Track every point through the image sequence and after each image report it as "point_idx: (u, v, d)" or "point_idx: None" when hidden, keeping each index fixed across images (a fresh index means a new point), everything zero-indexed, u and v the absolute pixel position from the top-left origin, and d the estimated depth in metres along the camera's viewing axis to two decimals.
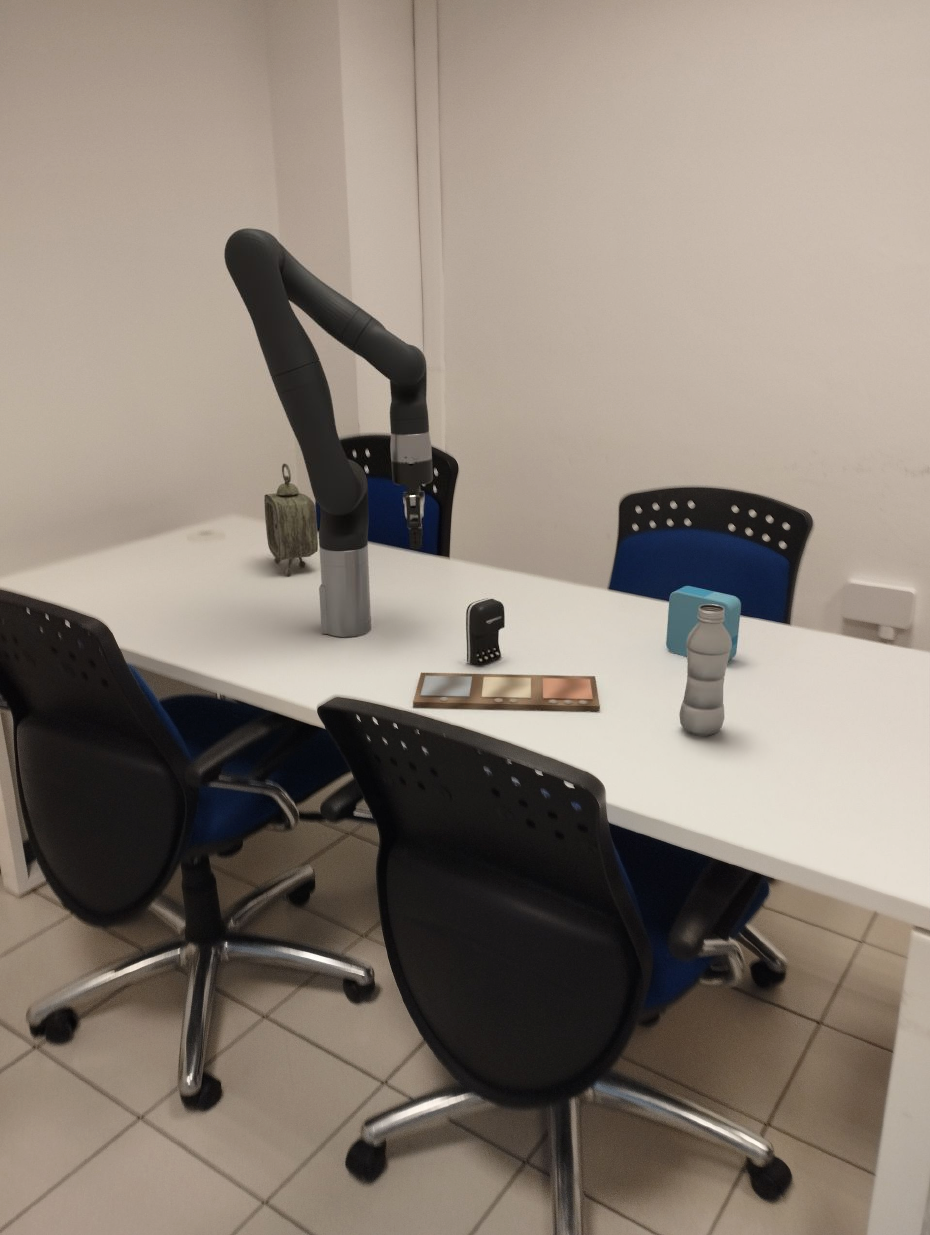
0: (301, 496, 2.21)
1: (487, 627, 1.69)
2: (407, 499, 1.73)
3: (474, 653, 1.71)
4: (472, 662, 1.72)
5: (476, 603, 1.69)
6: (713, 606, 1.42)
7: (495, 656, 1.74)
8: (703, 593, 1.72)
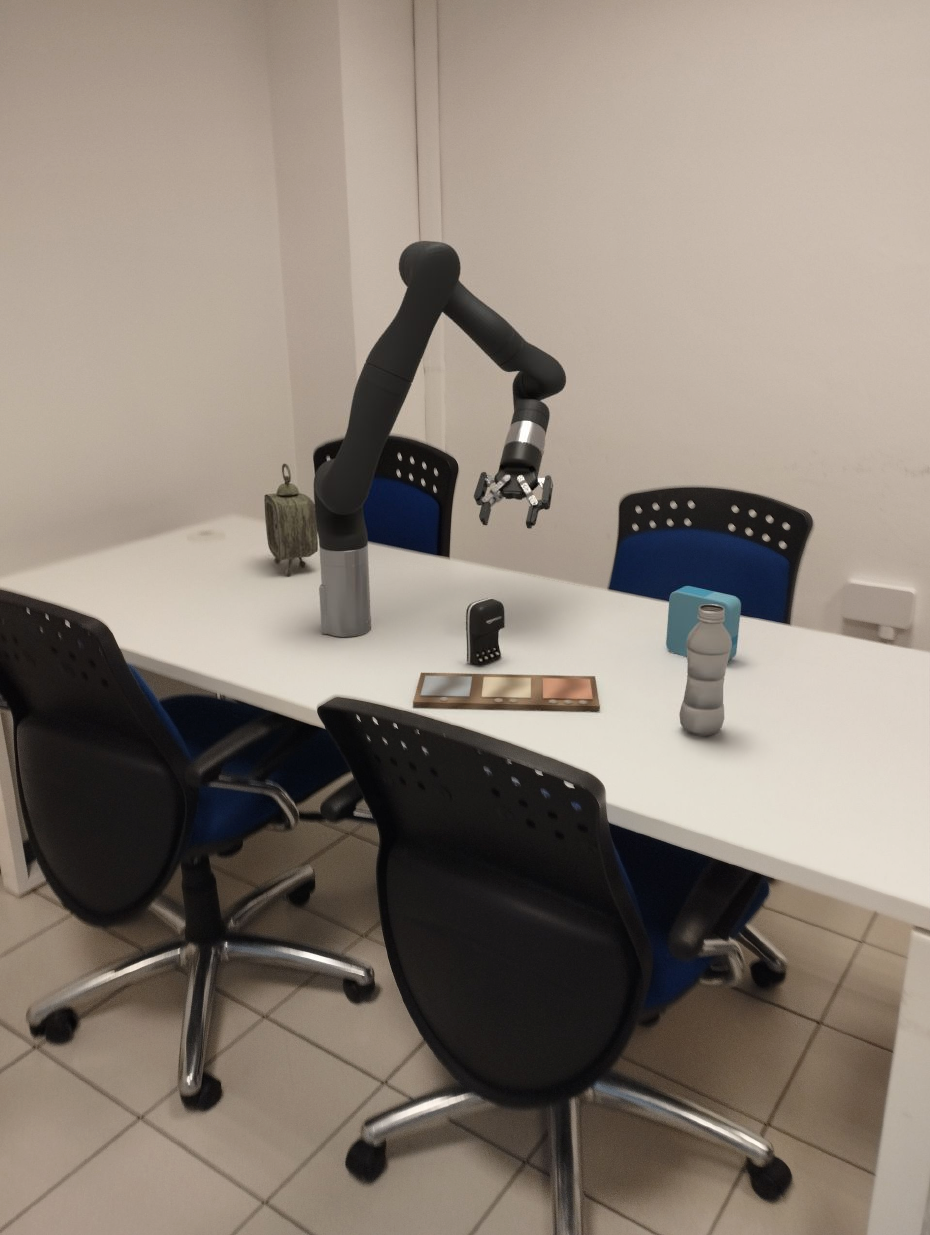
0: (301, 496, 2.21)
1: (487, 627, 1.69)
2: (551, 479, 1.77)
3: (474, 653, 1.71)
4: (472, 662, 1.72)
5: (476, 603, 1.69)
6: (713, 606, 1.42)
7: (495, 656, 1.74)
8: (703, 593, 1.72)
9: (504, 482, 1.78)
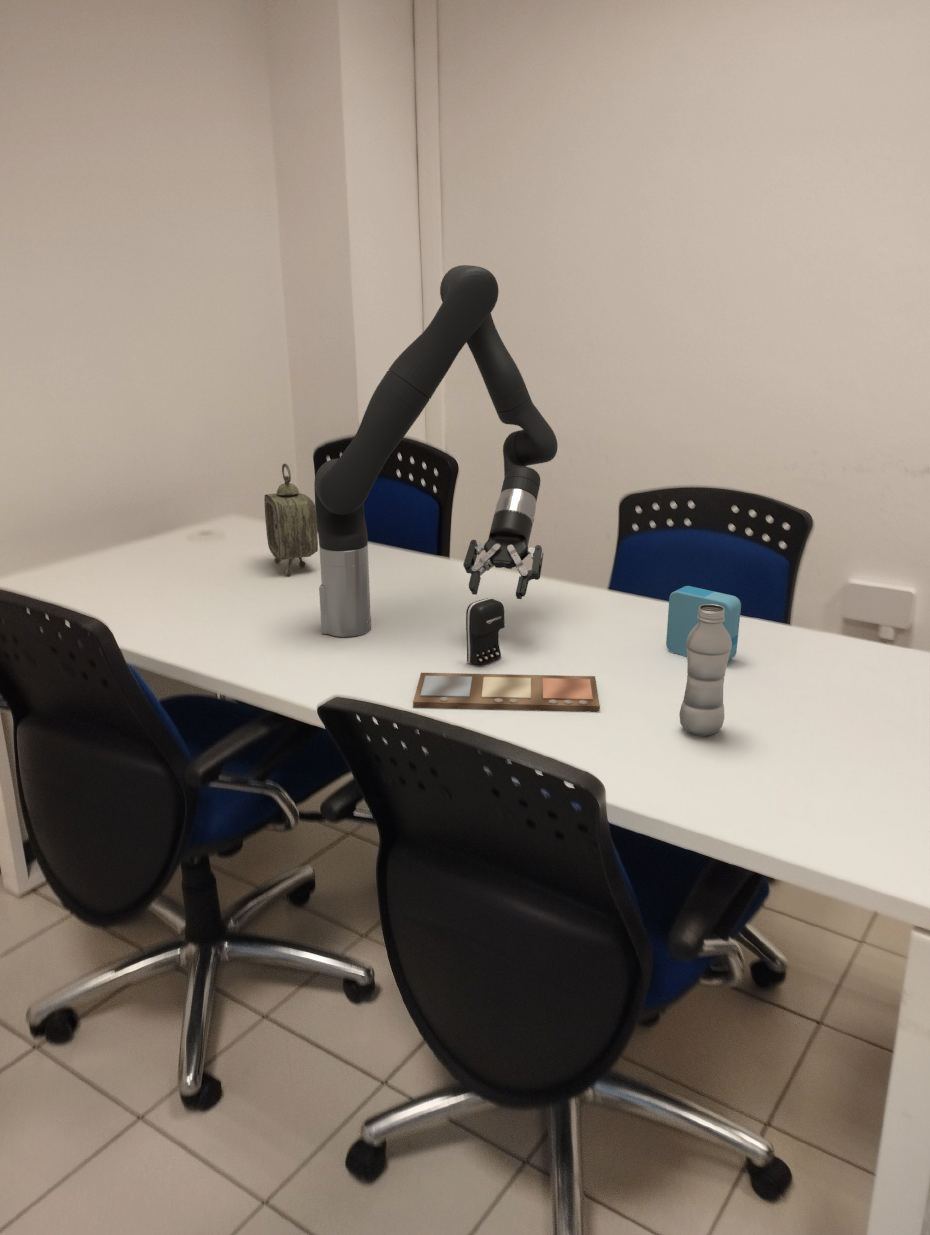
0: (301, 496, 2.21)
1: (487, 627, 1.69)
2: (541, 549, 1.76)
3: (474, 653, 1.71)
4: (472, 662, 1.72)
5: (476, 603, 1.69)
6: (713, 606, 1.42)
7: (495, 656, 1.74)
8: (703, 593, 1.72)
9: (494, 551, 1.77)
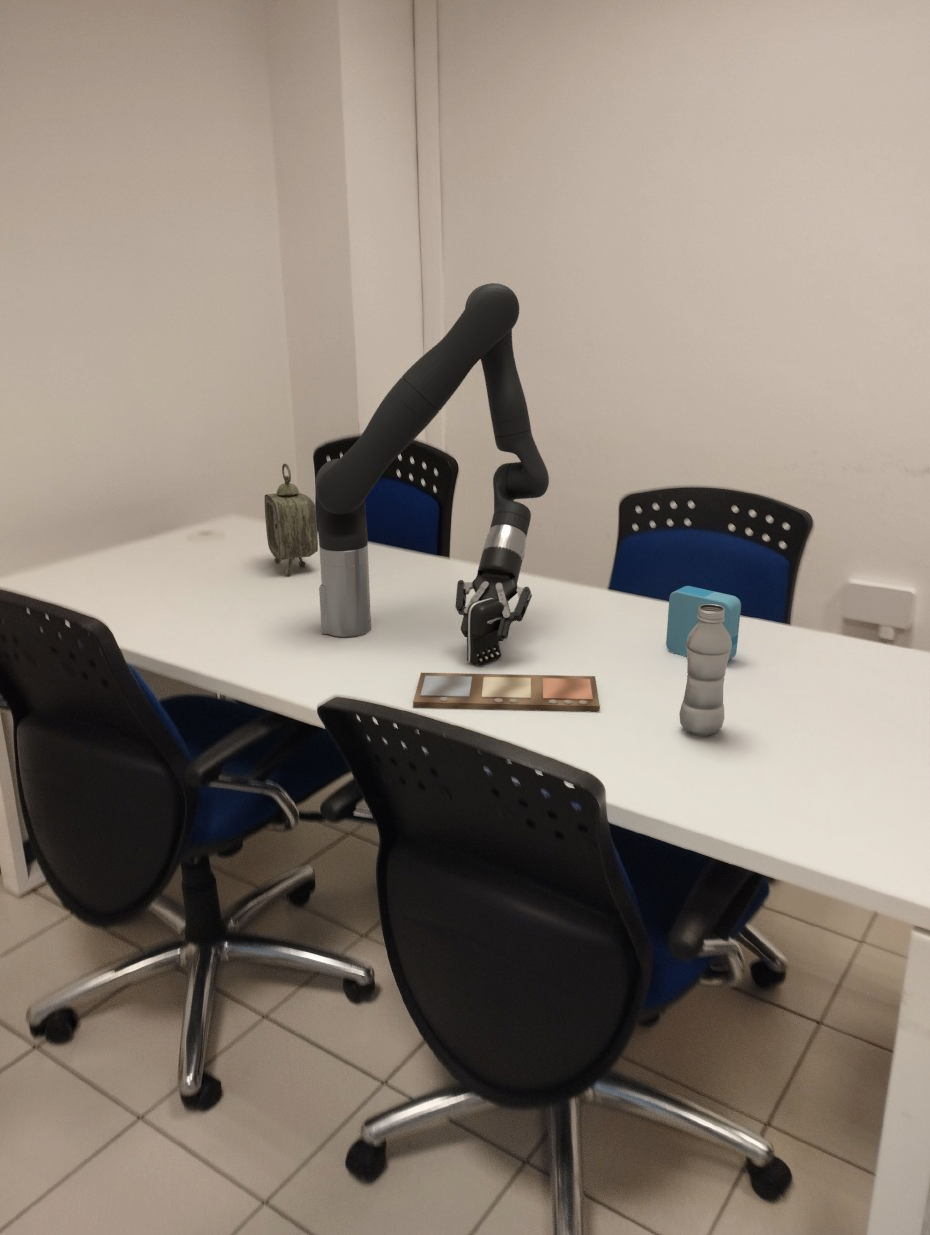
0: (301, 496, 2.21)
1: (487, 627, 1.69)
2: (529, 591, 1.71)
3: (474, 653, 1.71)
4: (472, 662, 1.72)
5: (477, 603, 1.69)
6: (713, 606, 1.42)
7: (495, 656, 1.74)
8: (703, 593, 1.72)
9: (483, 589, 1.73)
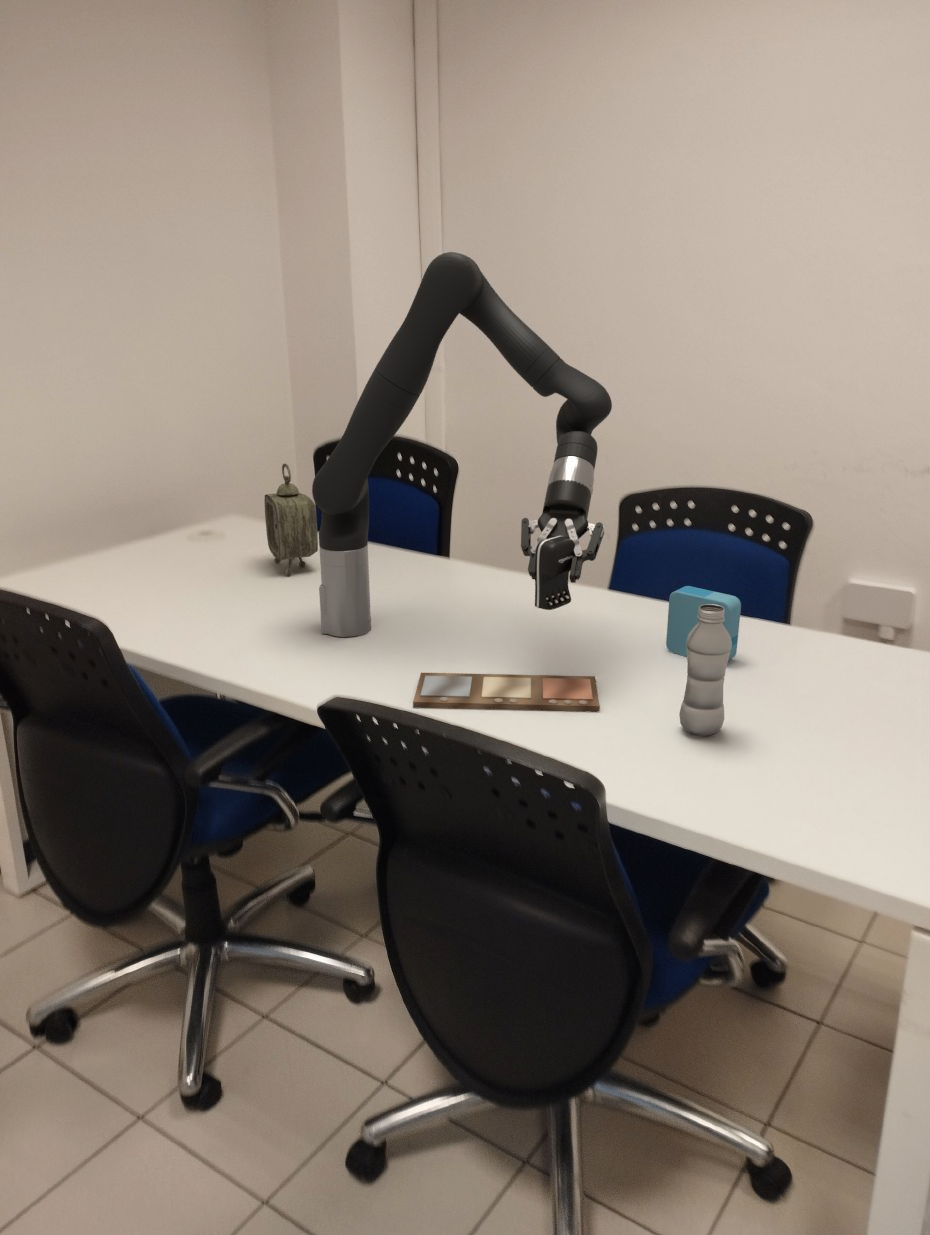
0: (301, 496, 2.21)
1: (559, 566, 1.54)
2: (602, 527, 1.56)
3: (544, 596, 1.56)
4: (541, 606, 1.56)
5: (546, 541, 1.54)
6: (713, 606, 1.42)
7: (565, 600, 1.59)
8: (703, 593, 1.72)
9: (551, 527, 1.57)
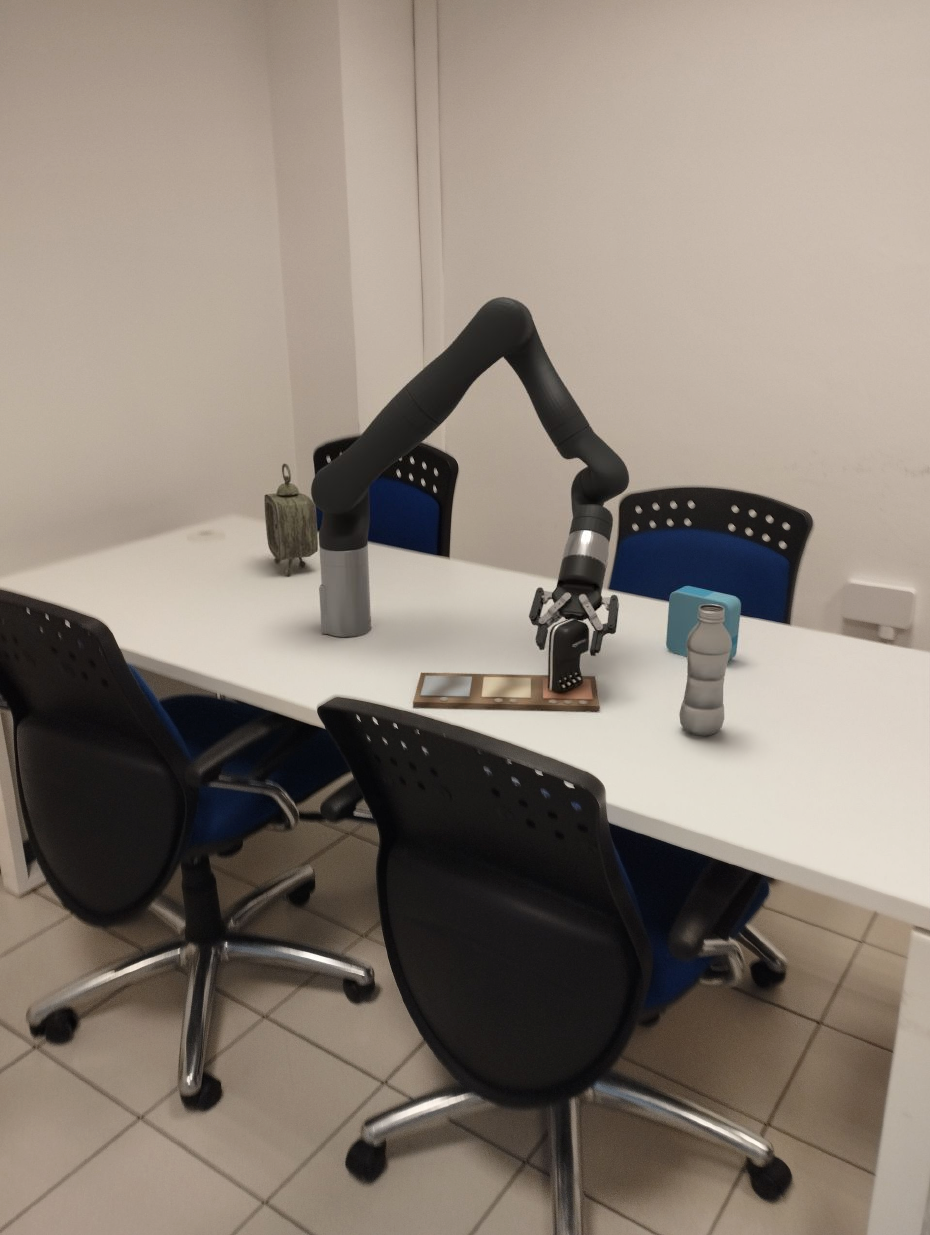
0: (301, 496, 2.21)
1: (572, 651, 1.55)
2: (617, 599, 1.57)
3: (557, 679, 1.57)
4: (554, 689, 1.57)
5: (560, 625, 1.55)
6: (713, 606, 1.42)
7: (577, 681, 1.60)
8: (703, 593, 1.72)
9: (564, 601, 1.58)
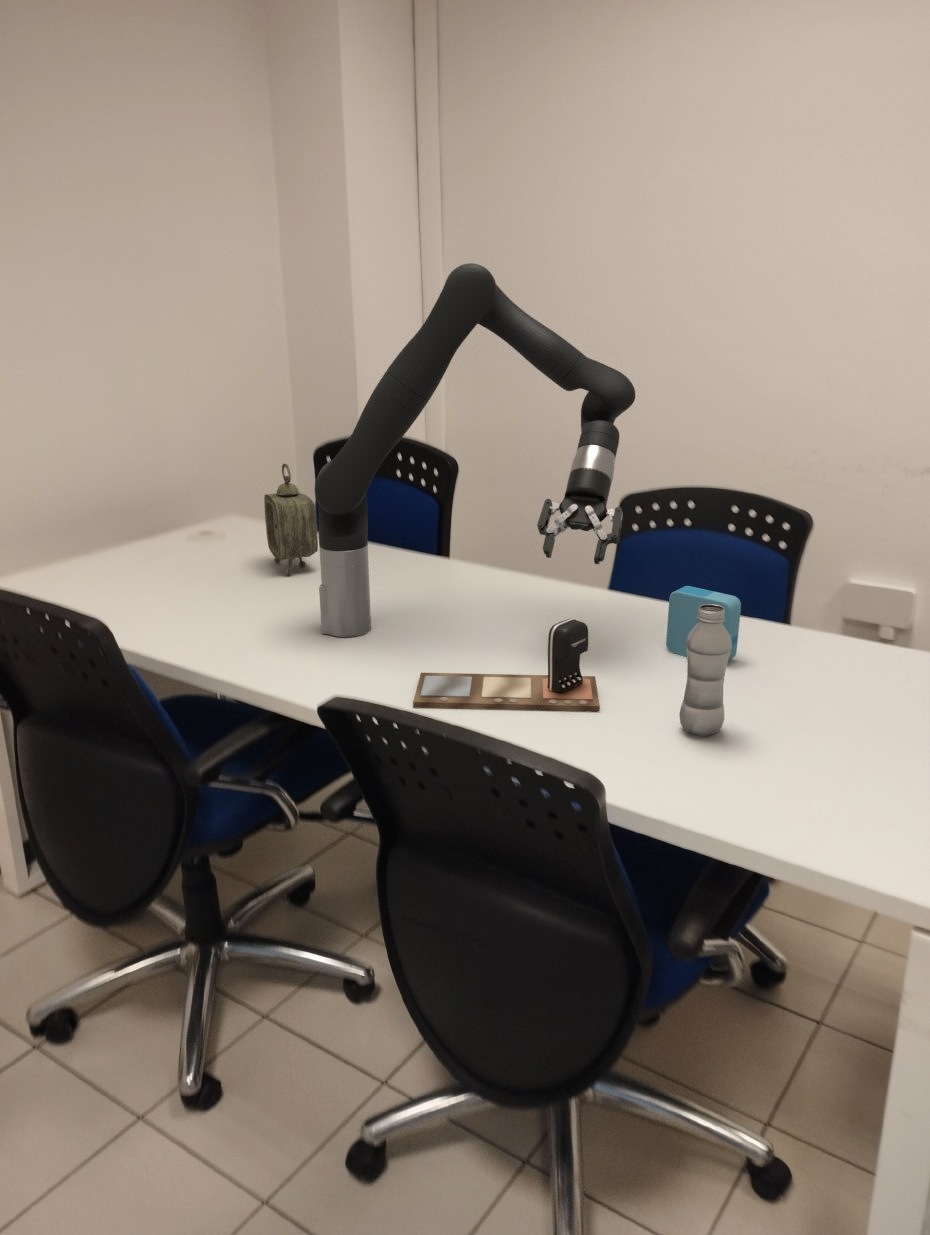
0: (301, 496, 2.21)
1: (572, 650, 1.55)
2: (621, 511, 1.65)
3: (557, 679, 1.57)
4: (554, 689, 1.57)
5: (559, 625, 1.55)
6: (713, 606, 1.42)
7: (577, 681, 1.60)
8: (703, 593, 1.72)
9: (571, 512, 1.66)
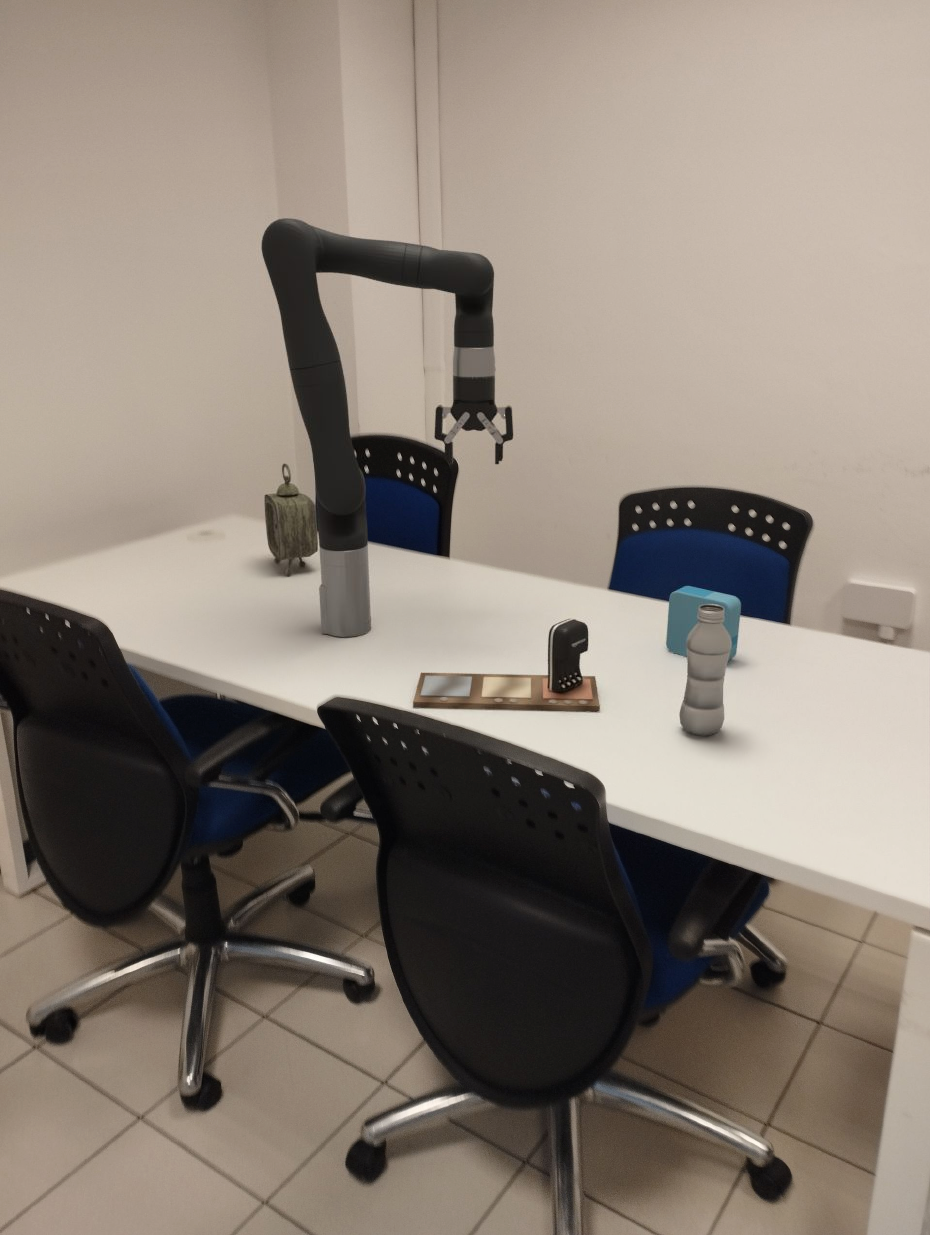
0: (301, 496, 2.21)
1: (572, 650, 1.55)
2: (511, 411, 1.72)
3: (557, 679, 1.57)
4: (554, 689, 1.57)
5: (559, 625, 1.55)
6: (713, 606, 1.42)
7: (577, 681, 1.60)
8: (703, 593, 1.72)
9: (464, 421, 1.72)
